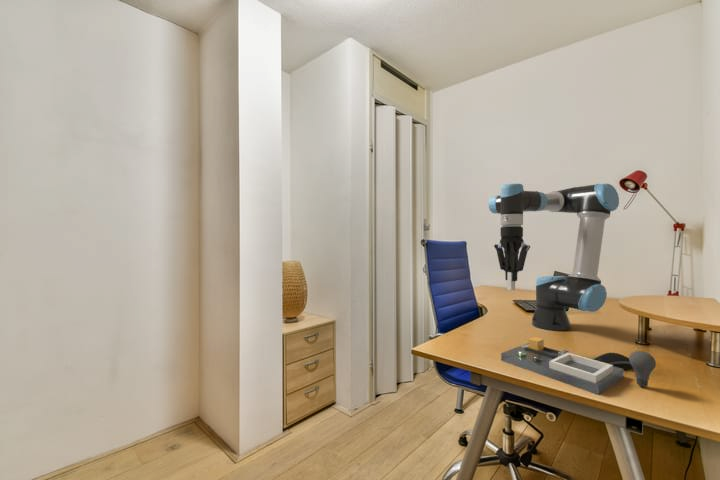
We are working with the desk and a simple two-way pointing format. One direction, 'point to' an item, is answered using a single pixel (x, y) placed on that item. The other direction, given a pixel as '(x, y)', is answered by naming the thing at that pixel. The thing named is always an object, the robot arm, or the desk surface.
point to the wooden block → (536, 343)
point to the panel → (540, 365)
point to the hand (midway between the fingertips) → (511, 289)
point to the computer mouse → (615, 360)
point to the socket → (593, 377)
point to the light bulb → (642, 366)
